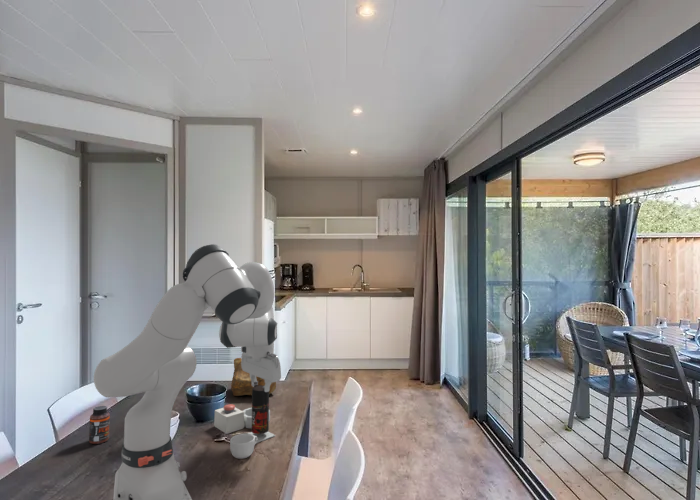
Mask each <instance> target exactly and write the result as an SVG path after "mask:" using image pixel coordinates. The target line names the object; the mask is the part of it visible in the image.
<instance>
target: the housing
mask: <svg viewBox="0 0 700 500" xmlns="http://www.w3.org/2000/svg"><path fill="white" fill-rule="evenodd" d="M224 411H225V410H224V407H221V408H218V409H214V422H213V423H214V427H215V428H217V430H220V431H221V432H223V433H224V434H225V435H226V434H227V435H228V434H230V433H234V432H236V431H239V430H240V431H241V430H243V429H245V428H246V429H252V407H248V408H245V409H243V410H241V409H239V408H238V407H236V406H235V409H234V412H233V413H229V414H226V413H224ZM270 421H271V409H269V422H270Z"/></svg>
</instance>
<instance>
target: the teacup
mask: <svg viewBox="0 0 700 500" xmlns="http://www.w3.org/2000/svg"><path fill="white" fill-rule="evenodd" d="M248 433H249V432H248ZM248 433H246V432H245V433H243V432H242V433H239V434H235V435H234V436H232V437H231V438H230V440H229V445H230V446H229V447H230V453H231V454H232V456H233V458H236V459H240V460H241V459H243V460H244V459H246V458H249V457H250V456H251V455H252V454H253V453H254V448H255V445H256V444H258V443H257V441H258V437H257V436H254V435H252V434H248ZM255 438H256V442H255Z"/></svg>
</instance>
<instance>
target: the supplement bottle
mask: <svg viewBox="0 0 700 500" xmlns="http://www.w3.org/2000/svg"><path fill="white" fill-rule="evenodd" d="M110 417H111V415H110V412H108V407H107V405H98V406H95V407H93V411H92V414H91V415H90V416H89V431H88V442H89V444H92V445H100V444H103V443H105V442H107V441H108V440H109V439H110V431H111V430H110V425H111V424H110V423H111V422H110V421H111V420H110V419H111V418H110Z"/></svg>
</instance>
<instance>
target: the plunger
mask: <svg viewBox="0 0 700 500" xmlns="http://www.w3.org/2000/svg"><path fill="white" fill-rule="evenodd" d="M235 407H236V405H235V404H233V403H231V404H225V405H224V406H223V408H224V410H225V411H224V413H226V414H229V413H233V412H234V409H235Z"/></svg>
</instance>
